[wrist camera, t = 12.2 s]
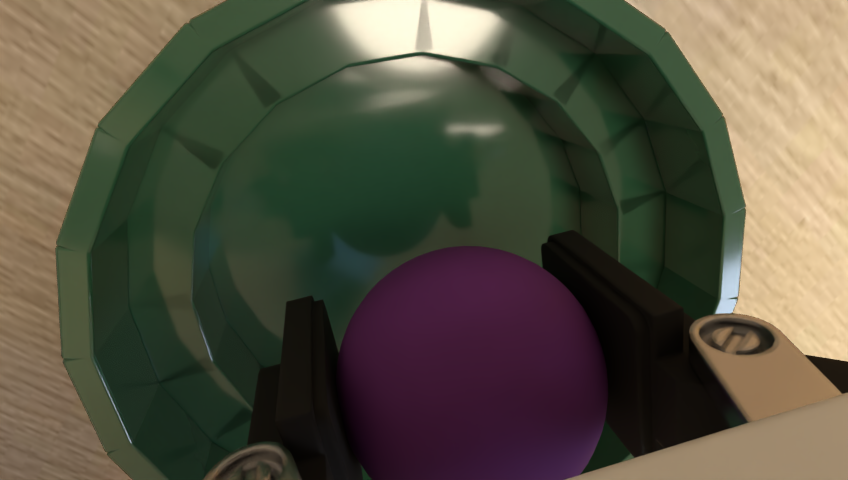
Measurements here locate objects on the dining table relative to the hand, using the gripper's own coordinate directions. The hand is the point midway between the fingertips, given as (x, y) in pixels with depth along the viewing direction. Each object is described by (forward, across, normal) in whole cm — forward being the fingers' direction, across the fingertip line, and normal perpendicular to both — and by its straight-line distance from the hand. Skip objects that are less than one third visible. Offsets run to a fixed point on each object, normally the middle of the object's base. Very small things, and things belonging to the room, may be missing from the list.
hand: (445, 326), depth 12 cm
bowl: (+5, 0, 0) cm, 5 cm away
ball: (-2, 0, 0) cm, 2 cm away
